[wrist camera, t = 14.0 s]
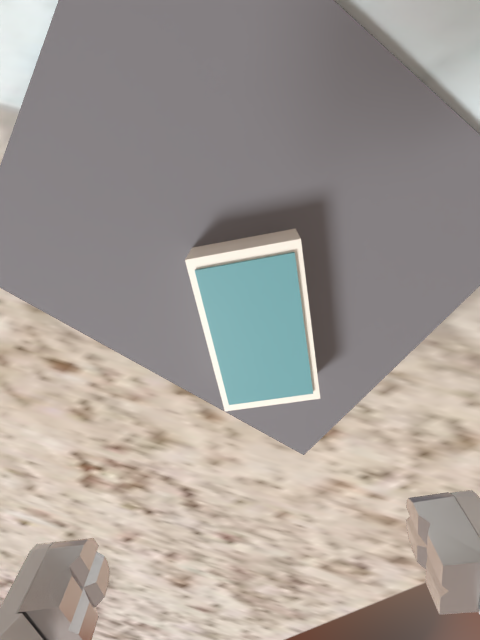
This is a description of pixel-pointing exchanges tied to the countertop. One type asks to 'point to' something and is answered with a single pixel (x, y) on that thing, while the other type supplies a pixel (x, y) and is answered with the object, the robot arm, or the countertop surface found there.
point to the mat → (238, 186)
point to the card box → (256, 319)
